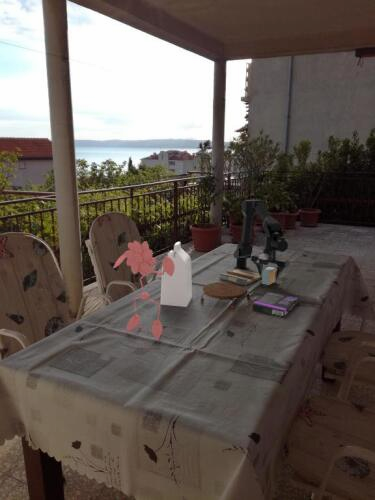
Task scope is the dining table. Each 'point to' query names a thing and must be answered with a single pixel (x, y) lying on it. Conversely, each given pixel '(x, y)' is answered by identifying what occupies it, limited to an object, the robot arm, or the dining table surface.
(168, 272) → the figurine
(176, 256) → the milk
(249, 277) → the shelf
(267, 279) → the carton
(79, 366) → the dining table surface
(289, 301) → the box
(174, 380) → the dining table surface
